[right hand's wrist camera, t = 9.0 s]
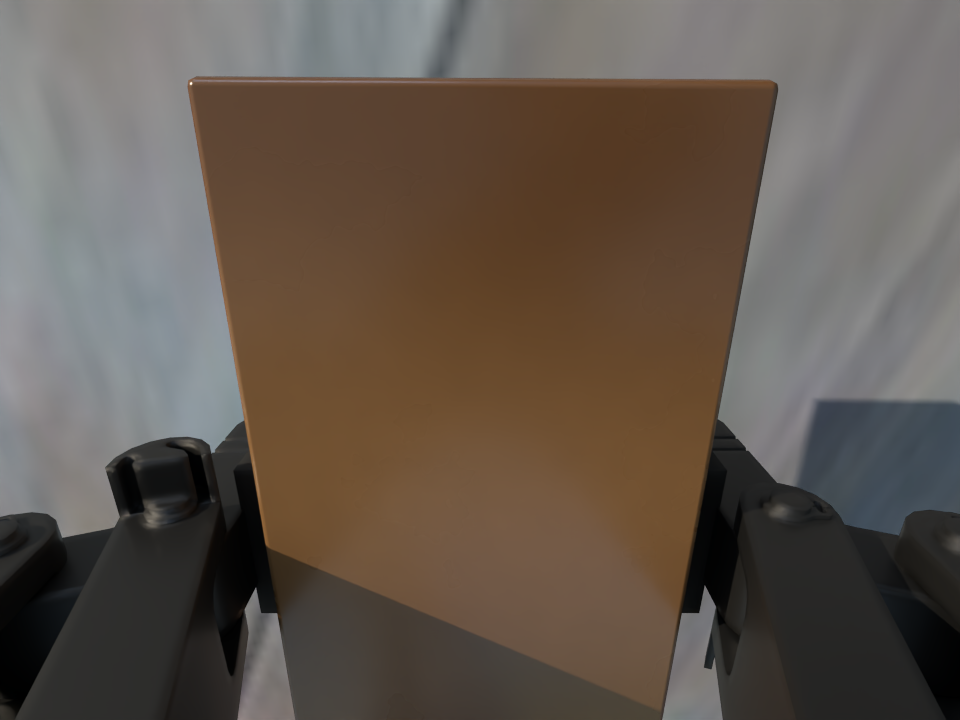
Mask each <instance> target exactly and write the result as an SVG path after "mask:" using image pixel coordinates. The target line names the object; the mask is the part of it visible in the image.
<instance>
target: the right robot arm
mask: <svg viewBox="0 0 960 720" xmlns="http://www.w3.org/2000/svg"><path fill="white" fill-rule="evenodd" d="M105 469H106V472H107V475H108V479H109V482H110V485H111V489H112V492H113V495H114V499H115V502H116V505H117V509H118V512H119V515H120V518H119V520H118V522H117V524H116V526H115V527H114V528H110V529H106V530H101V531H95V532H90V533H85V534H80V535H75V536H70V537H65V538H62V536H61V533H60V530H59V528H58V525H57V522H56V520H55V519H54V518H52V517H51V516H49V515H48V514H43V513H33V512H31V513H23V514H15V515H7V516H3V517H0V720H237V718H238V710H239V702H240V695H241V687H242V679H243V671H244V664H245V656H246V648H247V640H248V633H249V632H248V625H247V619H246V615H245V610H244V609H245V607H246V605H247V603H248V601H249V599H250V598H251V596H252V594H253V592H254V590H255V588H256V589H257V594H258V599H259V604H260V609H261V613H277V608H276V602H275V596H274V591H273V585H272V579H271V573H270V567H269V561H268V555H267V549H266V544H265V538H264V532H263V526H262V520H261V514H260V508H259V502H258V497H257V491H256V485H255V479H254V473H253V467H252V461H251V456H250V450H249V444H248V438H247V432H246V426H245V420H244V421H243V422H241V423H239V424H238V425H237V426H236V427H235V428H234V429H233V430H232V431H231V432H230V434H229V435H228V436H227V437H226V438H225V441H223V442H222V443H221V444H220V445H219V446H218V447H217V448H216V449H215V453H212V454H211V450H210V446H209V444H207V443H206V442H204V441H203V440H202V439H196V438H191V437H174V438H166V439H161V440H156V441H151V442H148V443H145V444H143V445H140V446H137V447H134V448H132V449H130V450H128V451H126V452H124V453H123V454H121V455H119V456H117V457H116V458H114V459H113V460H112V461H111V462H110V463H109V464H108V465H107V466H106V467H105ZM704 586H706V588H707V590H708V592H709V594H710V596H711V598H712V600H713V602H714V603H715V605H716V610H715V615H714V619H713V624H712V629H711V634H710V638H709V643H708V648H707V652H706V658H705V664H704V668H708V669H712V665H713V660H714V657H715V662H716V670H717V678H718V685H719V693H720V701H721V709H722V716H723V720H960V514H957V513H952V512H942V511H934V510H924V511H915V512H913V513H911V514H910V515H909V516H907V517H906V518H905V521H904V524H903V527H902V529H901V532H900V535H899V536H898V535H893V534H888V533H883V532H878V531H872V530H867V529H862V528H857V527H852V526H848V525H844V523H843V521H842V519H841V517H840V516H839V514H838V513H837V512H836V511H835V510H834V509H833V507H832V506H831V505H830V504H828V503H827V502H825V501H824V500H822V499H821V498H819V497H818V496H816V495H814V494H812V493H809V492H807V491H805V490H802V489H800V488H797V487H793V486H789V485H785V484H781V483H777V482H776V481H775V480H774V479H773V478H772V477H771V476H770V475H769V473H768V472H767V471H766V470H765V469H764V468H763V467H762V466H761V464H760V463H759V462H758V461H757V460H756V459H755V458H754V457H753V455H752V454H751V453H750V452H749V451H746V448H745V446H744V445H743V444H742V443H741V442H740V441H739V440H738V439H736V438H735V435H734V434H733V433H732V432H731V431H730V430H729V429H728V427H727V426H726V425H725V424H724V423H723V422H721V421H720V420H718V419H717V424H716V430H715V435H714V441H713V446H712V451H711V457H710V462H709V468H708V473H707V478H706V484H705V489H704V495H703V500H702V506H701V511H700V516H699V522H698V527H697V533H696V538H695V544H694V549H693V554H692V560H691V565H690V571H689V576H688V582H687V587H686V592H685V598H684V603H683V609H682V613H699V611H700V606H701V601H702V596H703V591H704Z"/></svg>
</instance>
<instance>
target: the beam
mask: <svg viewBox="0 0 960 720" xmlns="http://www.w3.org/2000/svg"><path fill="white" fill-rule="evenodd" d="M188 92H189V98H190V103H191V109H192V115H193V121H194V127H195V133H196V139H197V145H198V150H199V156H200V162H201V168H202V174H203V180H204V186H205V192H206V197H207V203H208V209H209V215H210V221H211V227H212V233H213V238H214V244H215V250H216V256H217V262H218V268H219V274H220V280H221V285H222V291H223V297H224V303H225V309H226V315H227V321H228V326H229V332H230V338H231V344H232V350H233V356H234V362H235V368H236V373H237V379H238V385H239V391H240V397H241V403H242V409H243V414H244V420H245V426H246V432H247V438H248V444H249V450H250V456H251V461H252V467H253V473H254V479H255V485H256V491H257V497H258V502H259V508H260V514H261V520H262V526H263V532H264V538H265V544H266V549H267V555H268V561H269V567H270V573H271V579H272V585H273V591H274V596H275V602H276V608H277V614H278V620H279V626H280V632H281V637H282V643H283V649H284V655H285V661H286V667H287V673H288V679H289V684H290V690H291V696H292V702H293V708H294V714H295V720H662V717H663V712H664V706H665V701H666V695H667V690H668V685H669V679H670V674H671V668H672V663H673V657H674V652H675V647H676V641H677V636H678V630H679V625H680V619H681V614H682V609H683V603H684V598H685V592H686V587H687V582H688V576H689V571H690V565H691V560H692V554H693V549H694V544H695V538H696V533H697V527H698V522H699V516H700V511H701V506H702V500H703V495H704V489H705V484H706V478H707V473H708V468H709V462H710V457H711V451H712V446H713V441H714V435H715V430H716V424H717V419H718V413H719V408H720V403H721V397H722V392H723V386H724V381H725V375H726V370H727V365H728V359H729V354H730V348H731V343H732V337H733V332H734V327H735V321H736V316H737V310H738V305H739V299H740V294H741V289H742V283H743V278H744V272H745V267H746V262H747V256H748V251H749V245H750V240H751V234H752V229H753V224H754V218H755V213H756V207H757V202H758V196H759V191H760V186H761V180H762V175H763V169H764V164H765V158H766V153H767V148H768V142H769V137H770V131H771V126H772V121H773V115H774V110H775V104H776V99H777V93H778V86H777V83H775V82H773V81H771V80H712V79H541V78H370V77H199V76H196V77H194V78H192V79H190V80H189V81H188Z"/></svg>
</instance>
